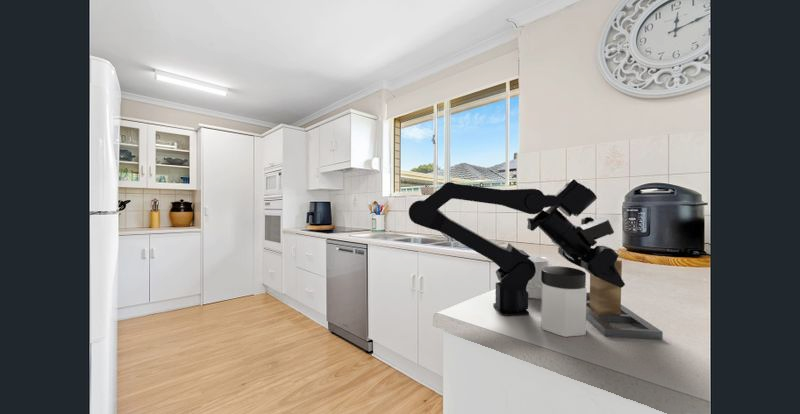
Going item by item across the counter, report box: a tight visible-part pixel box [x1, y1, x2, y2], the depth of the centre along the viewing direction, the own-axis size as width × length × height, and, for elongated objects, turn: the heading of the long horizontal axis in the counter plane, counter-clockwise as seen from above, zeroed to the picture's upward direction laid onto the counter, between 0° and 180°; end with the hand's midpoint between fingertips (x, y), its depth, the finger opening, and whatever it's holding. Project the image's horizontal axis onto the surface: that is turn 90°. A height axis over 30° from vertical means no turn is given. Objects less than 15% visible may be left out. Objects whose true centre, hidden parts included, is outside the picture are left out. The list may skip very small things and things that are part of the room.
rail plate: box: [586, 292, 664, 341], centre depth 72 cm, size 10×23×2 cm, turn 171°
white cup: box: [526, 255, 549, 299], centre depth 86 cm, size 8×8×10 cm
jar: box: [540, 265, 588, 338], centre depth 65 cm, size 9×8×12 cm
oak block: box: [589, 258, 623, 314], centre depth 72 cm, size 4×4×13 cm
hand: (612, 280), depth 71 cm, fingers open, 9 cm apart
